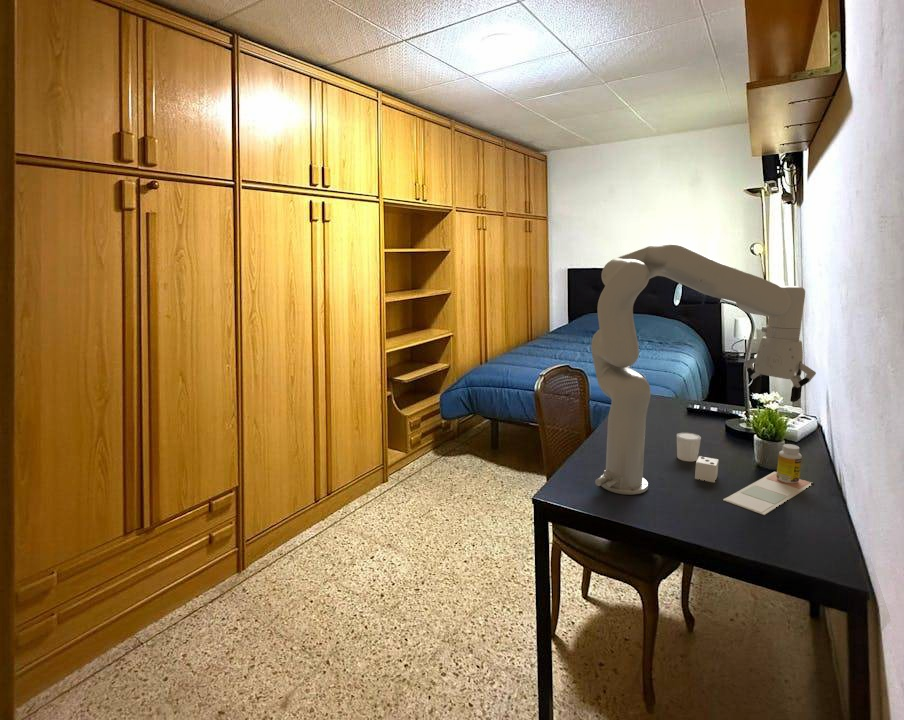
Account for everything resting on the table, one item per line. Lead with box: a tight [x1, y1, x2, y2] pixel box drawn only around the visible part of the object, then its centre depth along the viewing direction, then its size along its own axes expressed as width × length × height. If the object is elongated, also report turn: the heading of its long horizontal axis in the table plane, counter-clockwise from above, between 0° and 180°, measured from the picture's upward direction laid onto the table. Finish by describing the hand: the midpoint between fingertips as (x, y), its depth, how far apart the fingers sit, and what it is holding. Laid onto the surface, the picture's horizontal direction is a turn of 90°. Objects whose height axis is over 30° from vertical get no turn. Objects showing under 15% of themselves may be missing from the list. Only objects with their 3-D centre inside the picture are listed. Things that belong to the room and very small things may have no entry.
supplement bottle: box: [776, 443, 803, 484], centre depth 147 cm, size 5×5×10 cm
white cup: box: [676, 432, 702, 462], centre depth 165 cm, size 7×7×7 cm
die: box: [694, 455, 720, 484], centre depth 152 cm, size 5×5×5 cm
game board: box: [722, 471, 812, 516], centre depth 142 cm, size 28×10×1 cm, turn 126°
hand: (774, 396), depth 146 cm, fingers open, 9 cm apart
